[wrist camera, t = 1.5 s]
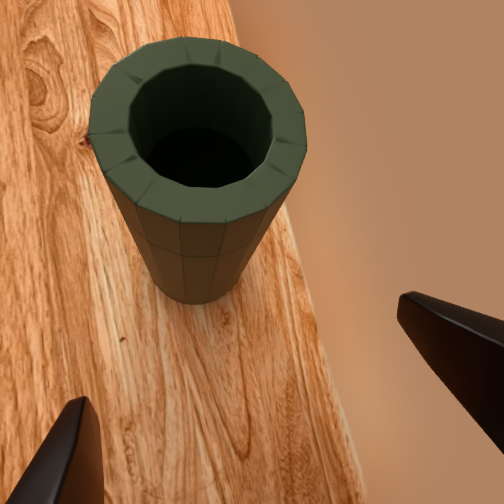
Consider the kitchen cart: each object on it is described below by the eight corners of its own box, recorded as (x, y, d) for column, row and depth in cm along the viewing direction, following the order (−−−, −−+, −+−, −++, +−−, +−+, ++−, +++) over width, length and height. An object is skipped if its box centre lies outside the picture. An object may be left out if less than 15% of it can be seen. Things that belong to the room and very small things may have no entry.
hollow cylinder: (242, 304, 23) (316, 225, 9) (147, 305, 22) (77, 221, 8) (239, 217, 24) (298, 47, 11) (150, 215, 23) (97, 25, 10)
